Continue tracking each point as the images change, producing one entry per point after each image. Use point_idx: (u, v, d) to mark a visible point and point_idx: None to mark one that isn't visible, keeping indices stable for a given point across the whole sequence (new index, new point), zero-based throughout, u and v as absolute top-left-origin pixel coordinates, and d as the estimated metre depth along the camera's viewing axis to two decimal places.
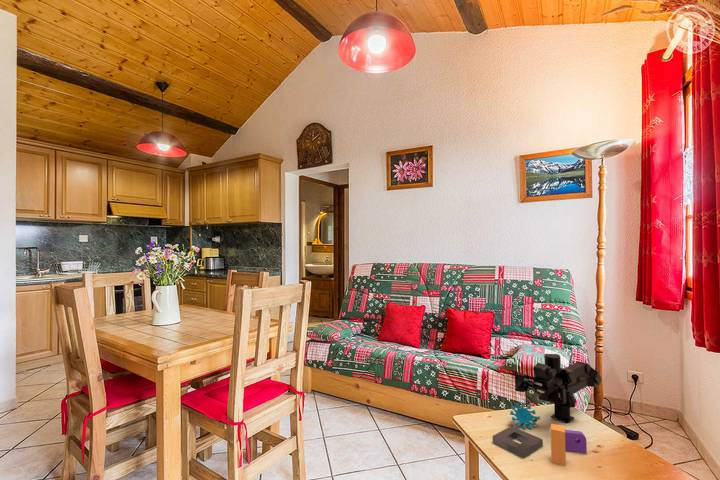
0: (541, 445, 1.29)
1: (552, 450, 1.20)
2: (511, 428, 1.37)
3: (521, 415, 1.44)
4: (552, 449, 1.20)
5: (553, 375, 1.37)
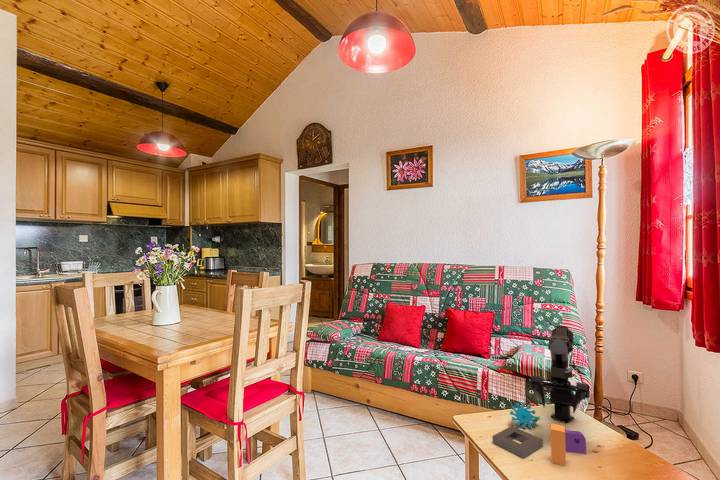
0: (541, 445, 1.29)
1: (552, 450, 1.20)
2: (511, 428, 1.37)
3: (521, 415, 1.44)
4: (552, 449, 1.20)
5: None
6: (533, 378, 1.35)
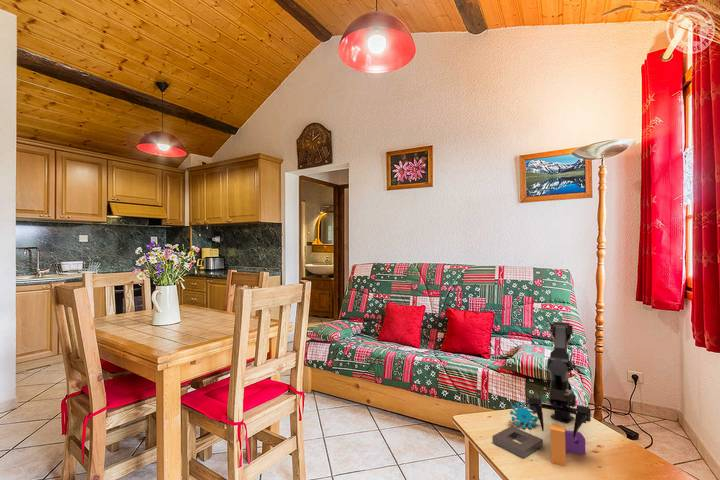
0: (541, 445, 1.29)
1: (552, 450, 1.20)
2: (511, 428, 1.37)
3: (521, 415, 1.44)
4: (552, 449, 1.20)
5: (572, 397, 1.23)
6: (531, 400, 1.29)
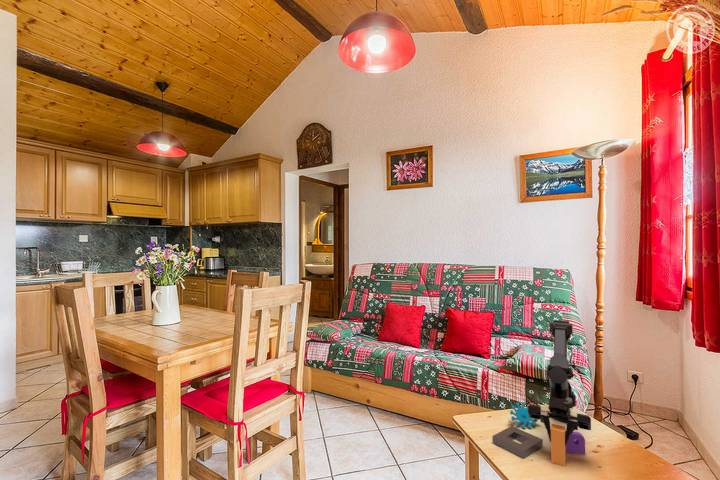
0: (541, 445, 1.29)
1: (552, 450, 1.20)
2: (511, 428, 1.37)
3: (521, 414, 1.44)
4: (552, 449, 1.20)
5: (572, 406, 1.21)
6: (531, 408, 1.27)
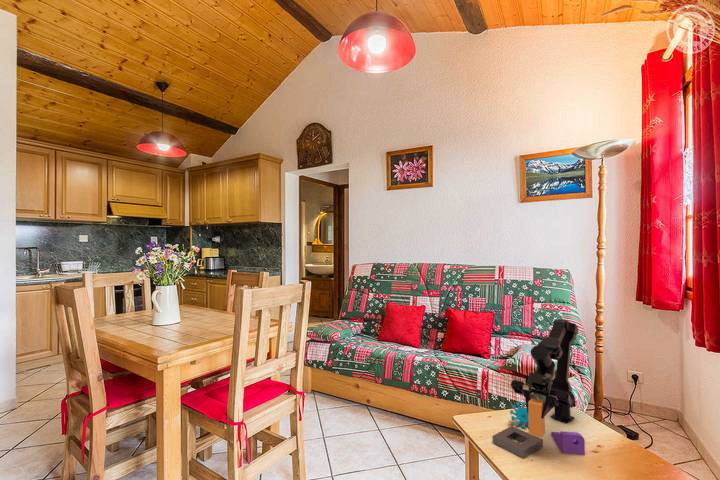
0: (541, 445, 1.29)
1: (529, 422, 1.25)
2: (511, 428, 1.37)
3: (521, 414, 1.45)
4: (529, 421, 1.25)
5: (551, 382, 1.24)
6: (513, 382, 1.33)
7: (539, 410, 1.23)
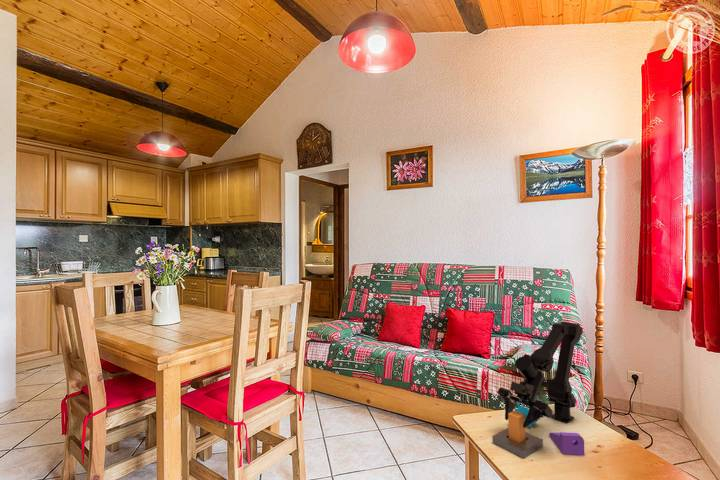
0: (541, 445, 1.29)
1: (509, 433, 1.31)
2: None
3: None
4: (509, 432, 1.31)
5: (531, 392, 1.29)
6: (500, 390, 1.39)
7: (517, 422, 1.28)
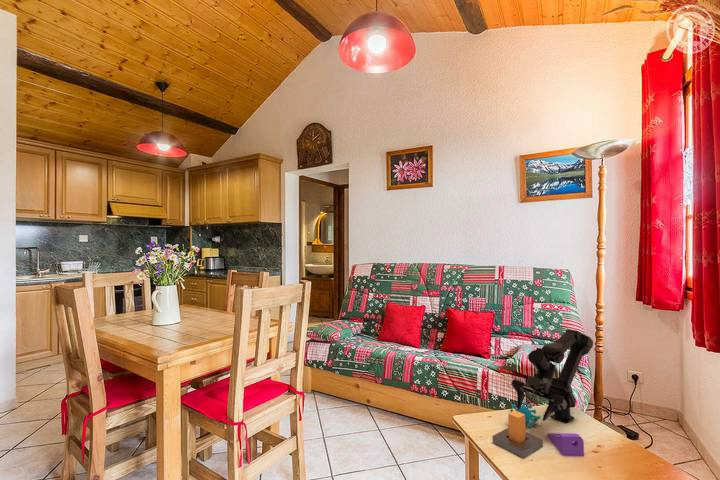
0: (541, 445, 1.29)
1: (509, 433, 1.31)
2: None
3: None
4: (509, 432, 1.31)
5: (548, 386, 1.33)
6: (514, 382, 1.43)
7: (517, 422, 1.28)
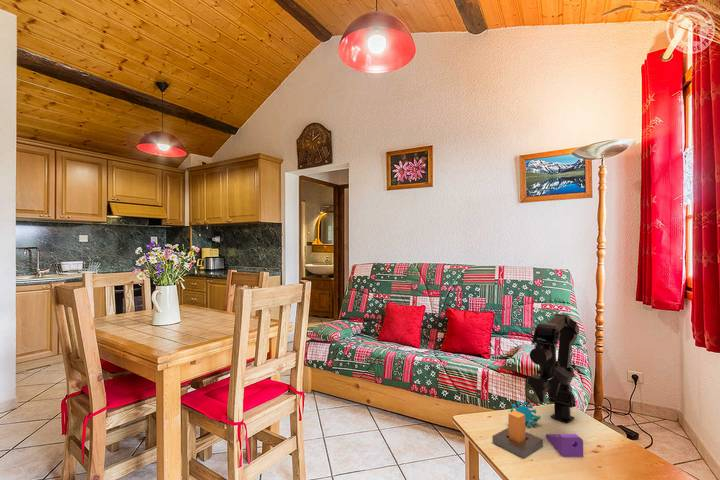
0: (541, 445, 1.29)
1: (509, 433, 1.31)
2: None
3: None
4: (509, 432, 1.31)
5: None
6: (544, 384, 1.30)
7: (517, 422, 1.28)
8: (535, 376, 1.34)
